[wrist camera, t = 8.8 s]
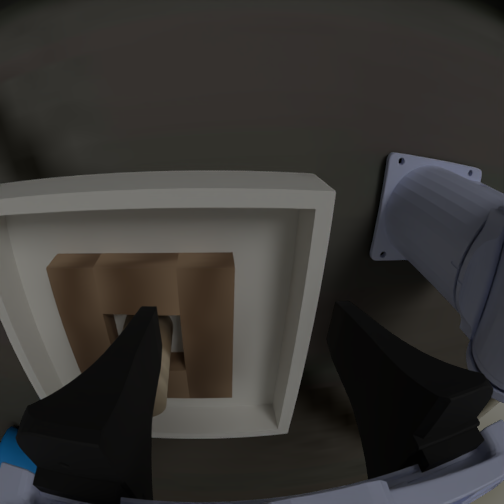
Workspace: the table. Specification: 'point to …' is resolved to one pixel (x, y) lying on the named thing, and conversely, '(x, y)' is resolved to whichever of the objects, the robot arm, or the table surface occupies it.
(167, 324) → the peg
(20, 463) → the alarm clock
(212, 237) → the tray
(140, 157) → the table surface
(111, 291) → the bore plate
